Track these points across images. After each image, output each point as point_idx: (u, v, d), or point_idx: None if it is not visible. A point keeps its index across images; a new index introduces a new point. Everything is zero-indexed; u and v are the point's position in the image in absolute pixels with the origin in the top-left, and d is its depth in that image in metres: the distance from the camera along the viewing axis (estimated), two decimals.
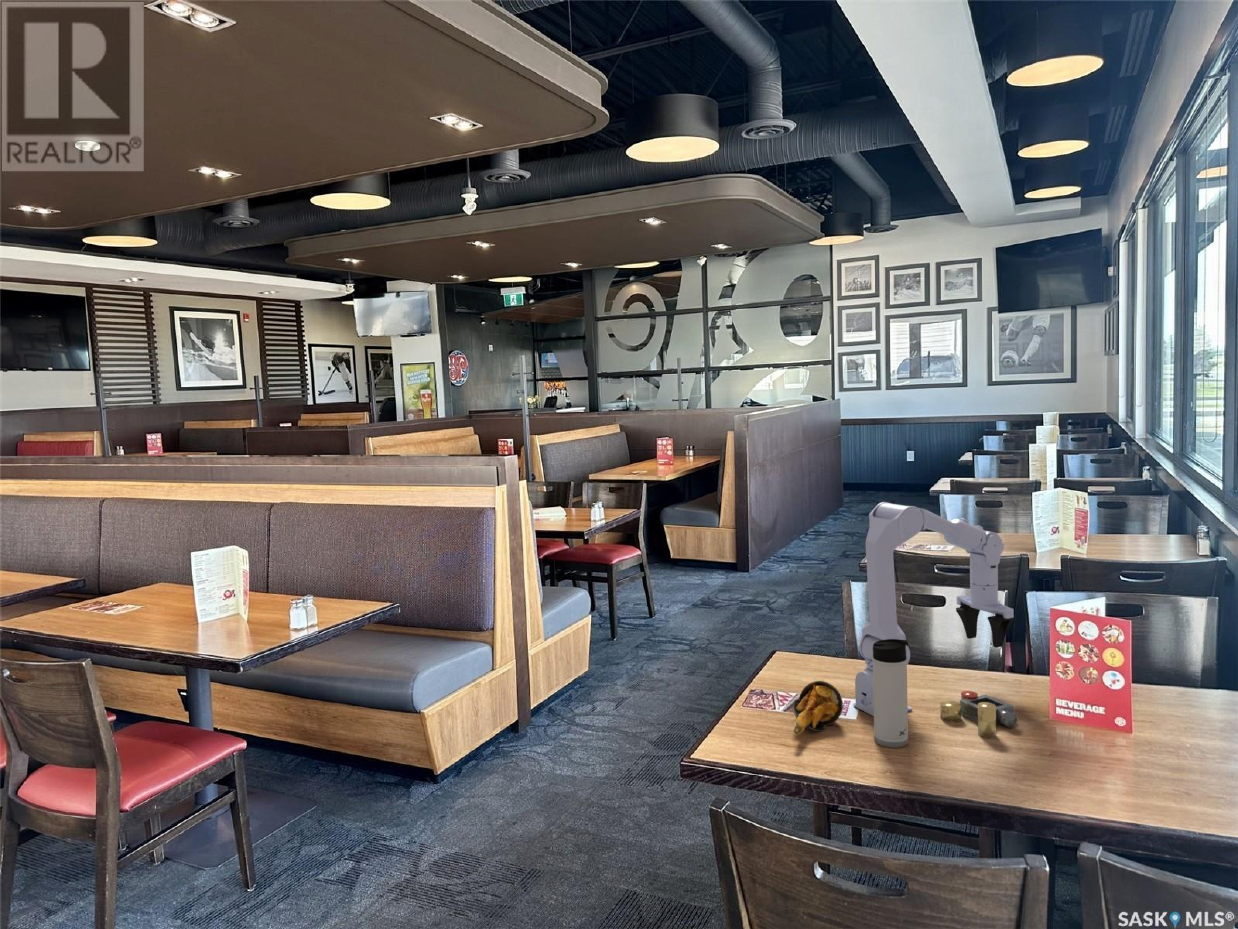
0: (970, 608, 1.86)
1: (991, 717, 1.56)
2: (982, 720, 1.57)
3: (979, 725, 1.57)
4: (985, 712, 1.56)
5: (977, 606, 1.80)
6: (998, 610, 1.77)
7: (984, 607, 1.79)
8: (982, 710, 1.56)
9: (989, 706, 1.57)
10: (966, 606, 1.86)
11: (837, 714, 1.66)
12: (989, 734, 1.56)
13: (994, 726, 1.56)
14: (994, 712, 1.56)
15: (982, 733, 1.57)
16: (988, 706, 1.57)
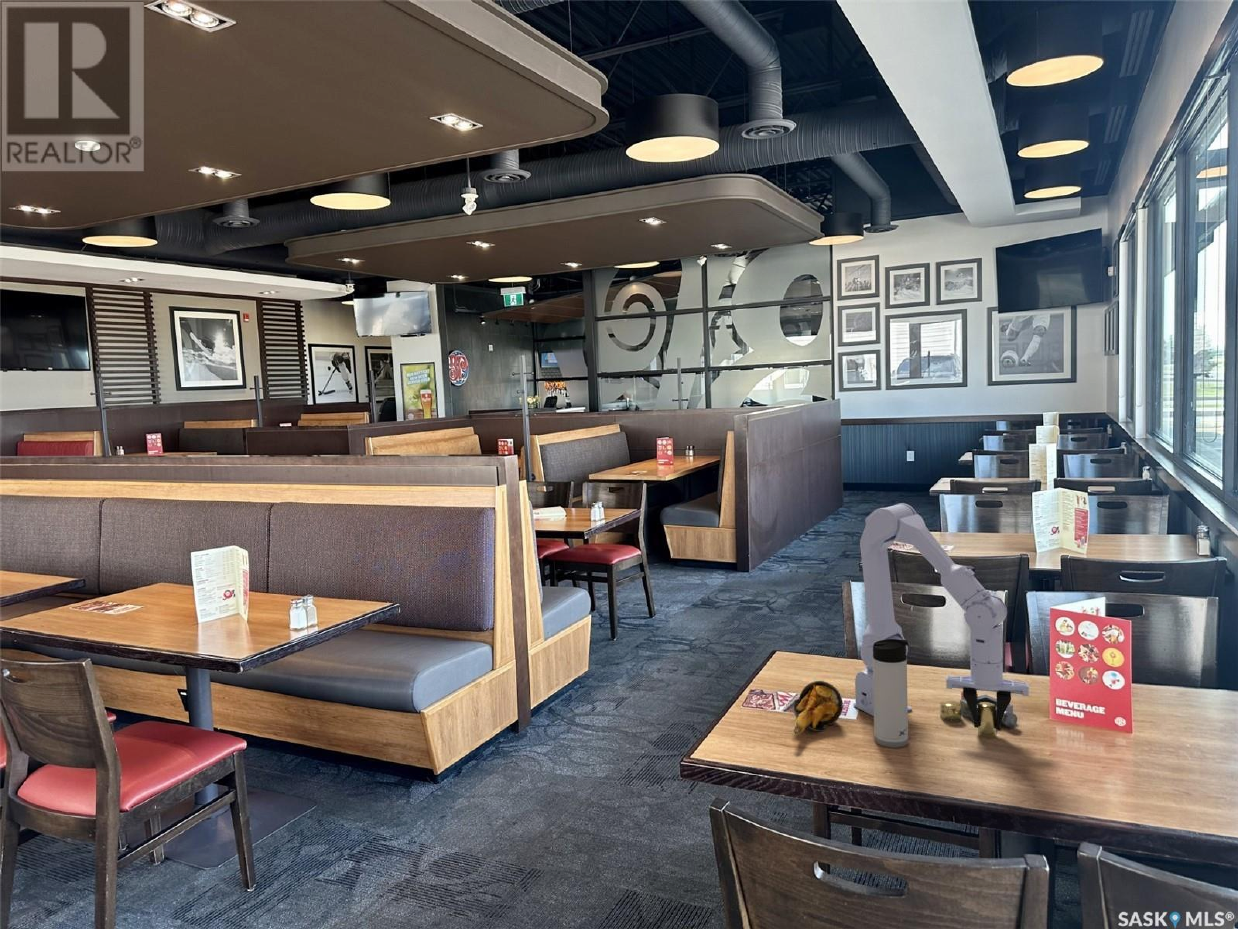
0: (976, 691, 1.58)
1: (991, 717, 1.56)
2: (982, 720, 1.57)
3: (979, 725, 1.57)
4: (985, 712, 1.56)
5: (992, 688, 1.54)
6: (1017, 688, 1.54)
7: (1000, 688, 1.54)
8: (982, 710, 1.56)
9: (989, 706, 1.57)
10: None
11: (837, 714, 1.66)
12: (989, 734, 1.56)
13: (994, 726, 1.56)
14: (994, 712, 1.56)
15: (982, 733, 1.57)
16: (988, 706, 1.57)
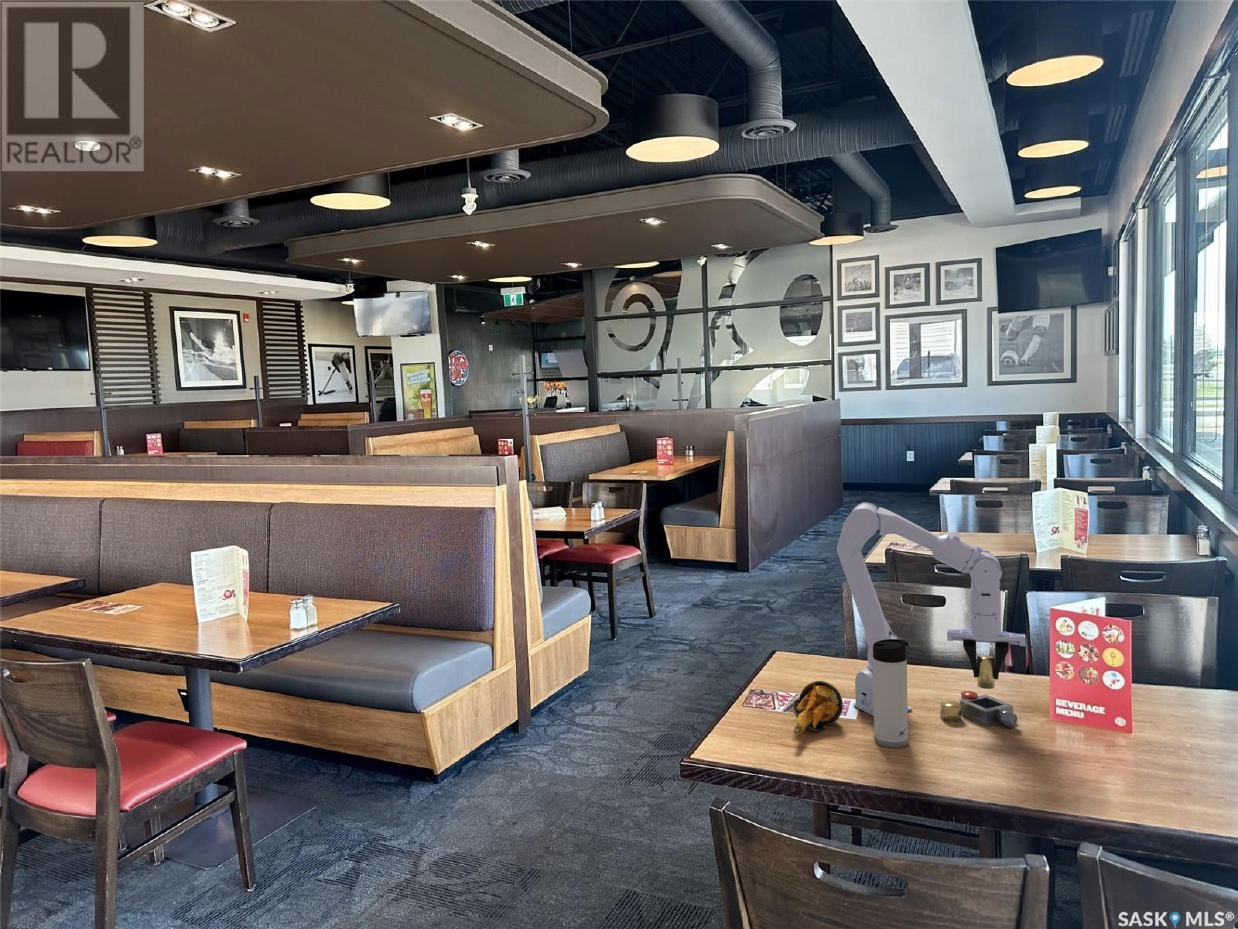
0: (975, 643, 1.65)
1: (990, 668, 1.64)
2: (981, 671, 1.64)
3: (978, 676, 1.65)
4: (984, 663, 1.64)
5: (990, 639, 1.62)
6: (1014, 639, 1.61)
7: (998, 638, 1.62)
8: (981, 662, 1.64)
9: (988, 658, 1.64)
10: None
11: (837, 714, 1.66)
12: (988, 685, 1.64)
13: (993, 677, 1.64)
14: (993, 664, 1.64)
15: (981, 684, 1.65)
16: (987, 658, 1.64)
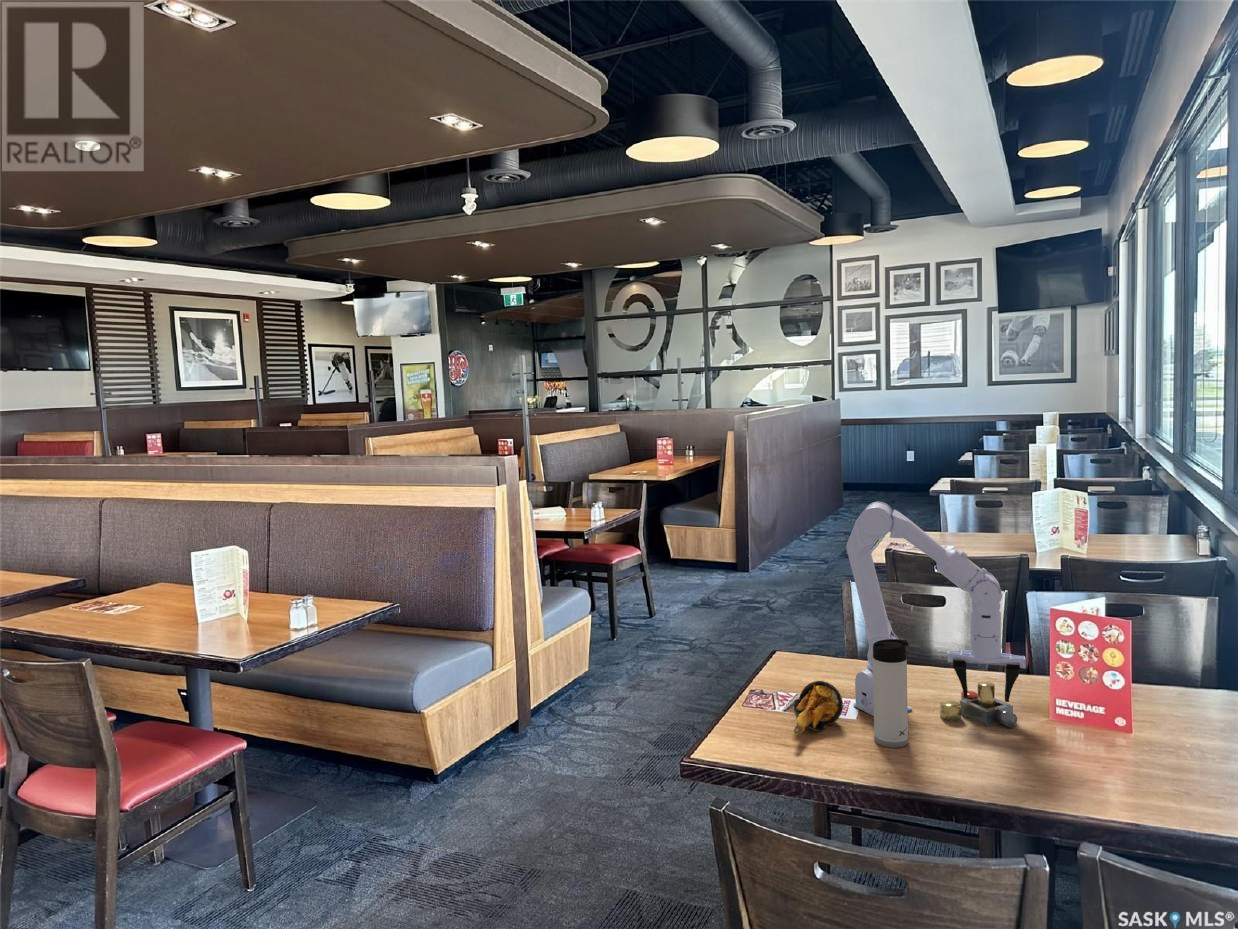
0: (965, 663, 1.67)
1: (990, 695, 1.64)
2: (981, 698, 1.65)
3: (979, 703, 1.66)
4: (984, 690, 1.64)
5: (991, 661, 1.62)
6: (1014, 661, 1.62)
7: (999, 660, 1.62)
8: (981, 689, 1.65)
9: (988, 685, 1.65)
10: (962, 662, 1.66)
11: (837, 714, 1.66)
12: None
13: (993, 704, 1.64)
14: (993, 691, 1.64)
15: None
16: (987, 685, 1.65)
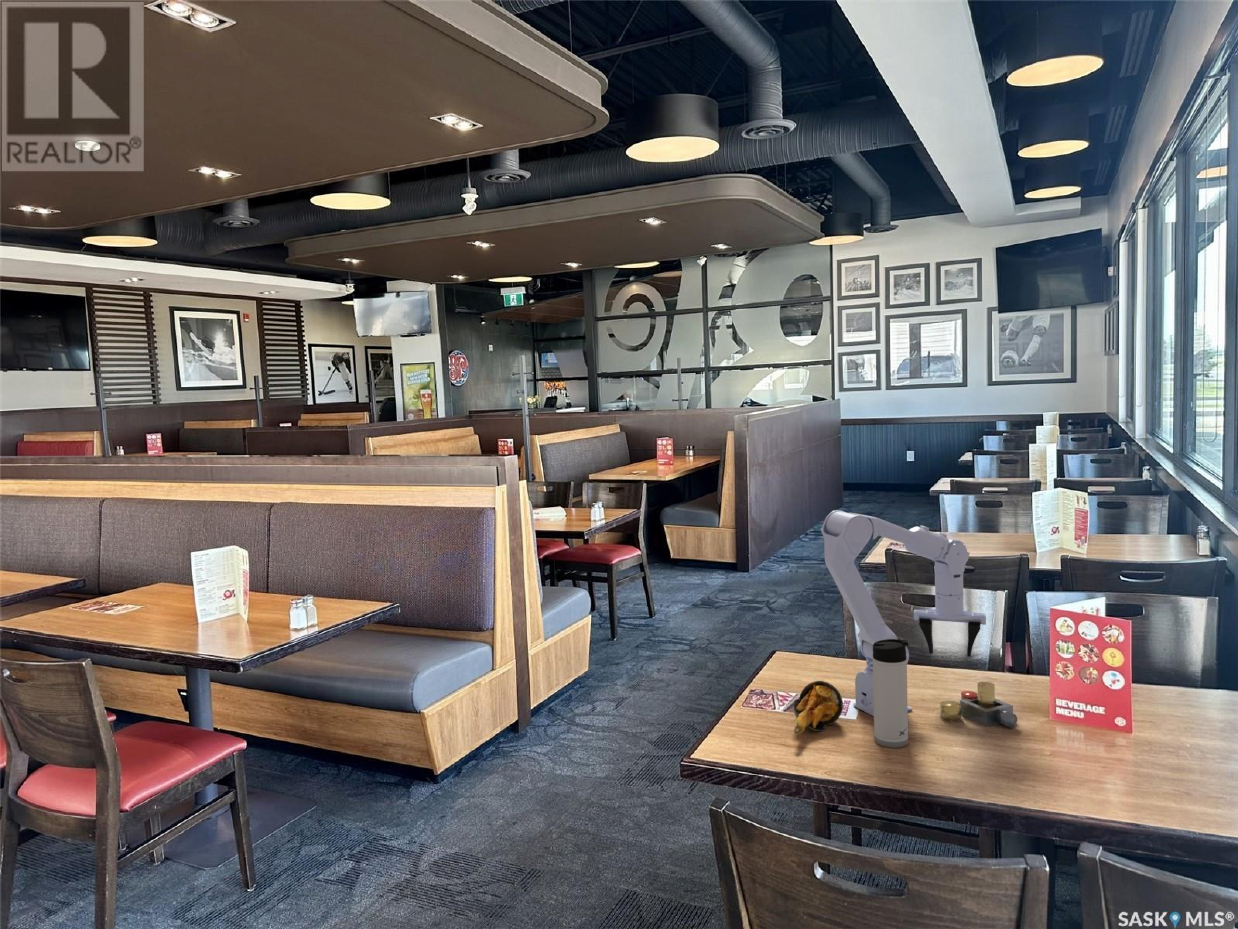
0: (930, 621, 1.77)
1: (990, 695, 1.64)
2: (981, 698, 1.65)
3: (979, 703, 1.66)
4: (984, 690, 1.64)
5: (953, 617, 1.73)
6: (975, 617, 1.73)
7: (961, 617, 1.73)
8: (981, 689, 1.65)
9: (988, 685, 1.65)
10: (927, 620, 1.77)
11: (837, 714, 1.66)
12: None
13: (993, 704, 1.64)
14: (993, 691, 1.64)
15: None
16: (987, 685, 1.65)
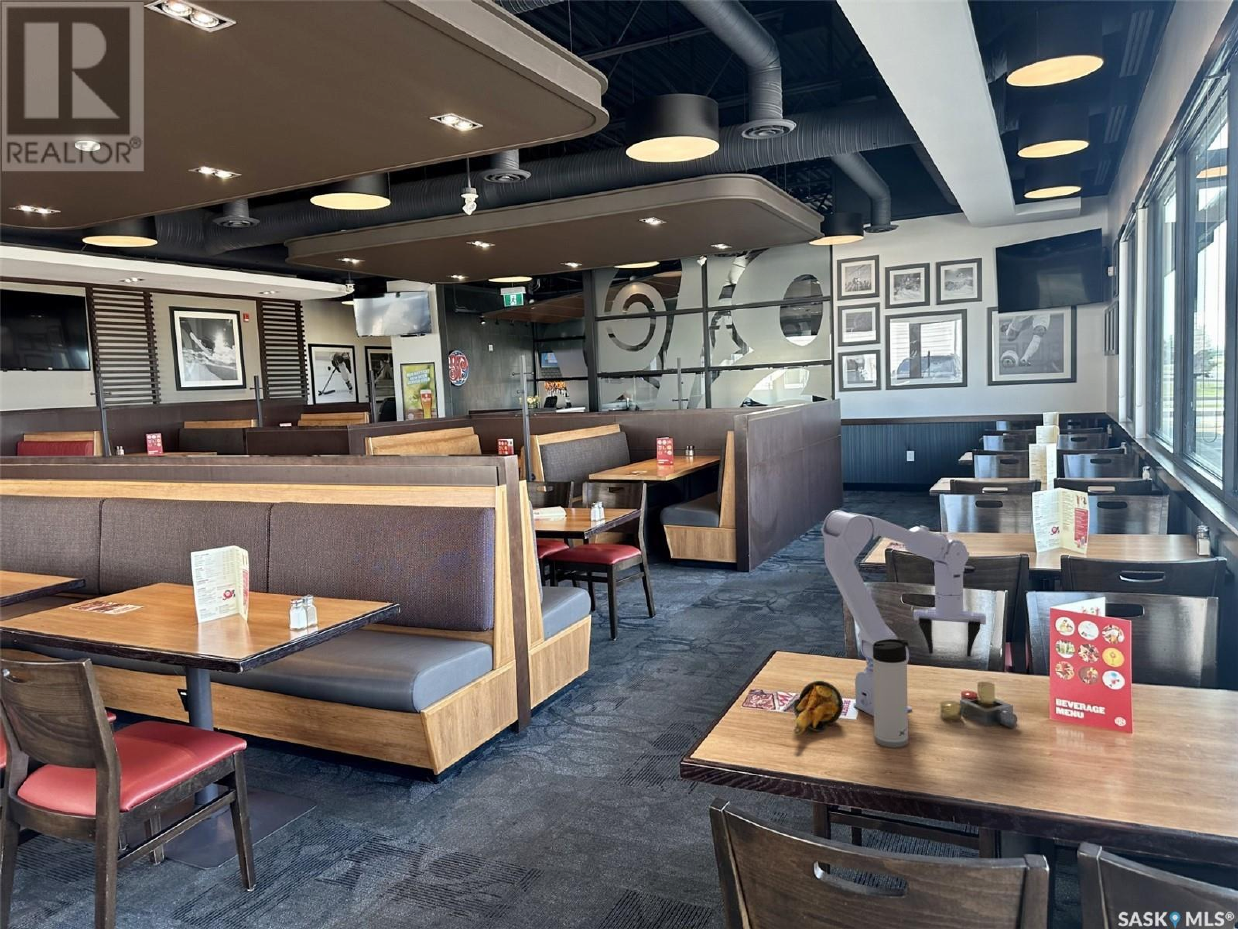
0: (930, 621, 1.77)
1: (990, 695, 1.64)
2: (981, 698, 1.65)
3: (979, 703, 1.66)
4: (984, 690, 1.64)
5: (953, 617, 1.73)
6: (975, 617, 1.73)
7: (961, 617, 1.73)
8: (981, 689, 1.65)
9: (988, 685, 1.65)
10: (927, 620, 1.77)
11: (837, 714, 1.66)
12: None
13: (993, 704, 1.64)
14: (993, 691, 1.64)
15: None
16: (987, 685, 1.65)
